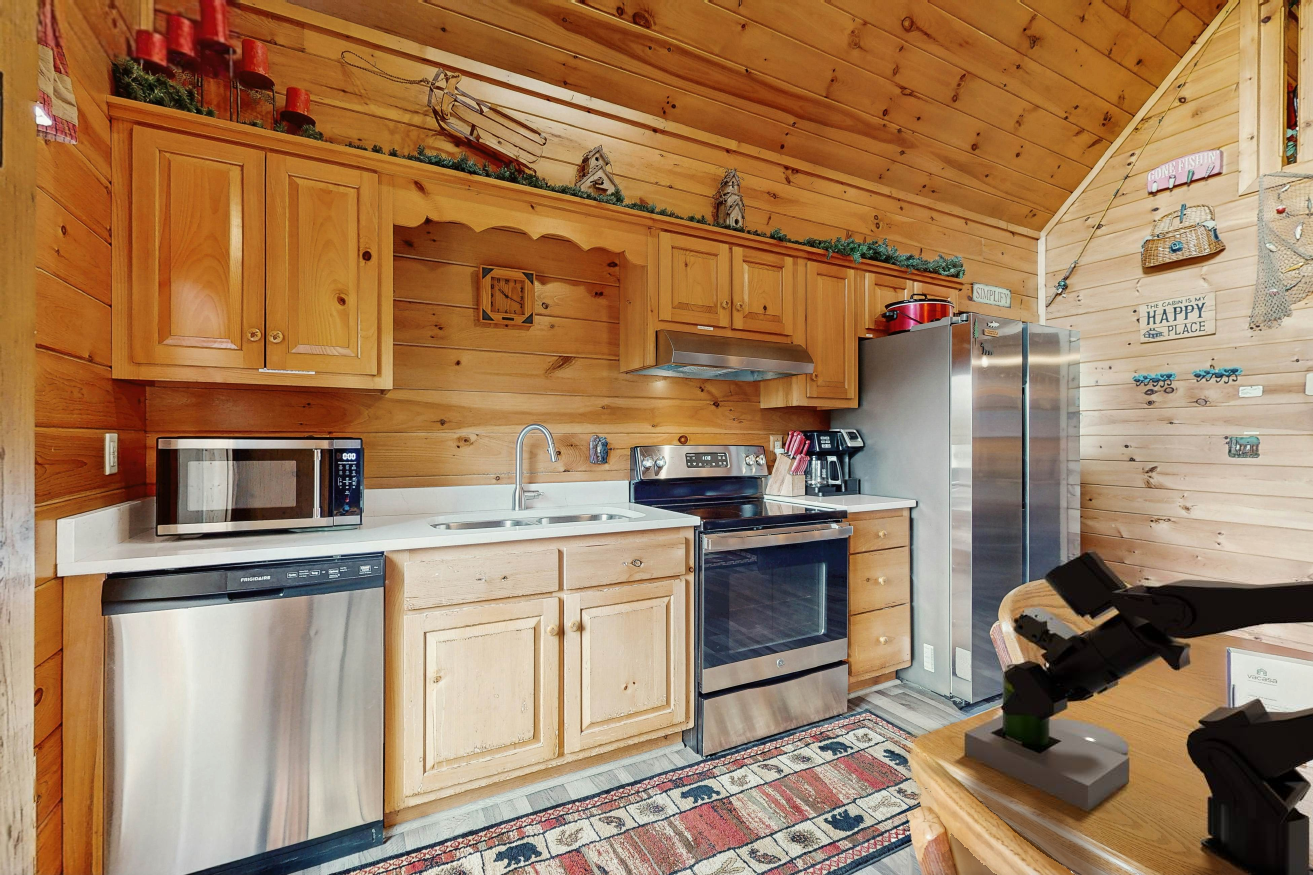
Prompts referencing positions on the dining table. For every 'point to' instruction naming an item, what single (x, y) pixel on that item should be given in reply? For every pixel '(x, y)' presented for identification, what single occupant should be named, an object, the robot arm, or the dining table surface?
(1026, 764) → the can dock
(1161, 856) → the dining table surface
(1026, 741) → the beer can
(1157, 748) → the dining table surface
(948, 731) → the dining table surface
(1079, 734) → the coaster
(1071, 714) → the dining table surface
